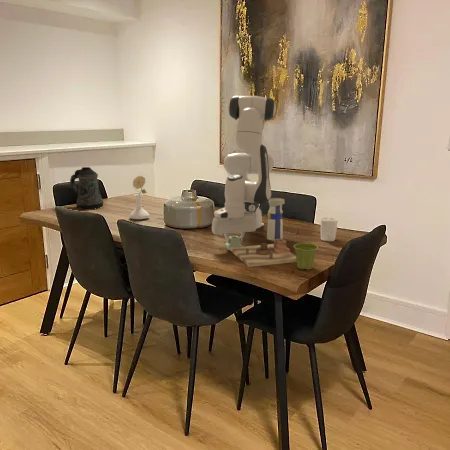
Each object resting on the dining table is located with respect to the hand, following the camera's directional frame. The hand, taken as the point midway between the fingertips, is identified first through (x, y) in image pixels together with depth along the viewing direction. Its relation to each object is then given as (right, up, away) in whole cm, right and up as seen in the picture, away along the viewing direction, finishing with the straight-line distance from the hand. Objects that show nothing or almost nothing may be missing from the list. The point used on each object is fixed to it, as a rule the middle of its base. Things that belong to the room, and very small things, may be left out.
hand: (234, 242), depth 205 cm
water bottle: (+20, +1, +16) cm, 26 cm away
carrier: (+12, -6, -11) cm, 17 cm away
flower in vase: (-52, +11, +54) cm, 76 cm away
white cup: (+46, 0, +15) cm, 48 cm away
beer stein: (-91, +19, +85) cm, 126 cm away
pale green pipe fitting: (0, -3, +1) cm, 3 cm away
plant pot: (+28, -9, -24) cm, 38 cm away
